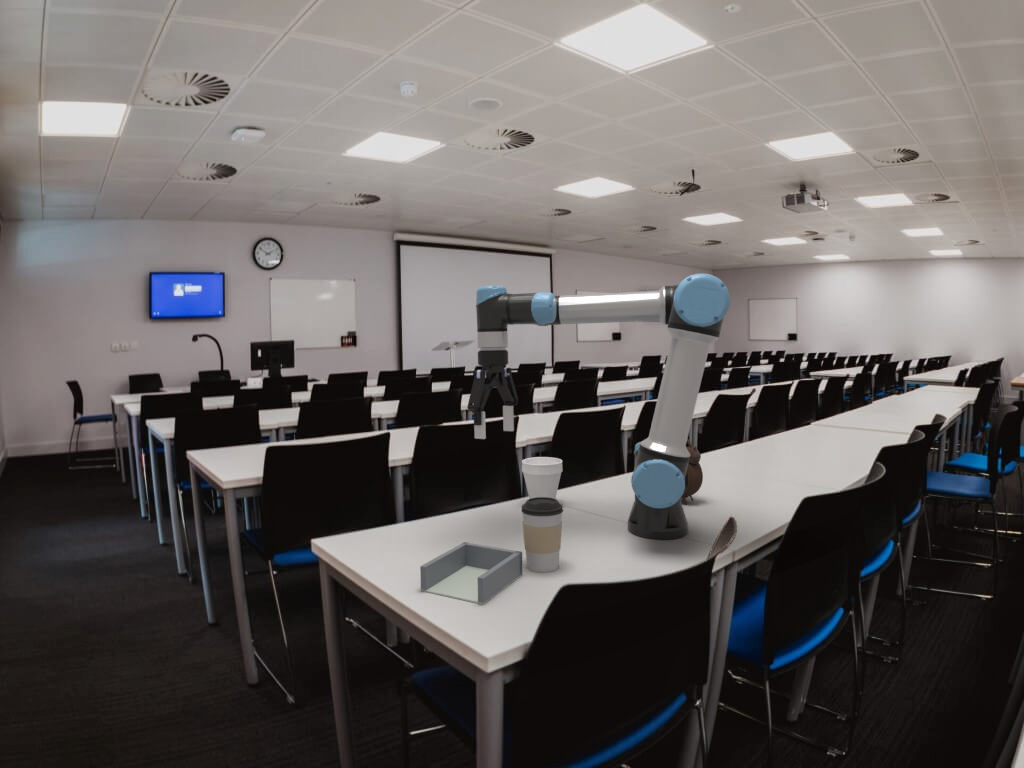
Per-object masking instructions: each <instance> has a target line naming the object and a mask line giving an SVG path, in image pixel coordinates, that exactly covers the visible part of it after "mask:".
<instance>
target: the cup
mask: <svg viewBox="0 0 1024 768" xmlns="http://www.w3.org/2000/svg"><path fill="white" fill-rule="evenodd" d="M521 472H522V475H523V477H524V482H525V486H526V490H527V495H528V499H531V498H537V497H548V498H554V499H556V498H557V495H558V494H557V493H558V490H559V489H558V488H559V483H560V479H561V476H562V472H563V460H562V459H561V458H558V457H551V456H550V457H549V456H535V457H527V458H525V459H524V458H523V459H522V460H521Z"/></svg>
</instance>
